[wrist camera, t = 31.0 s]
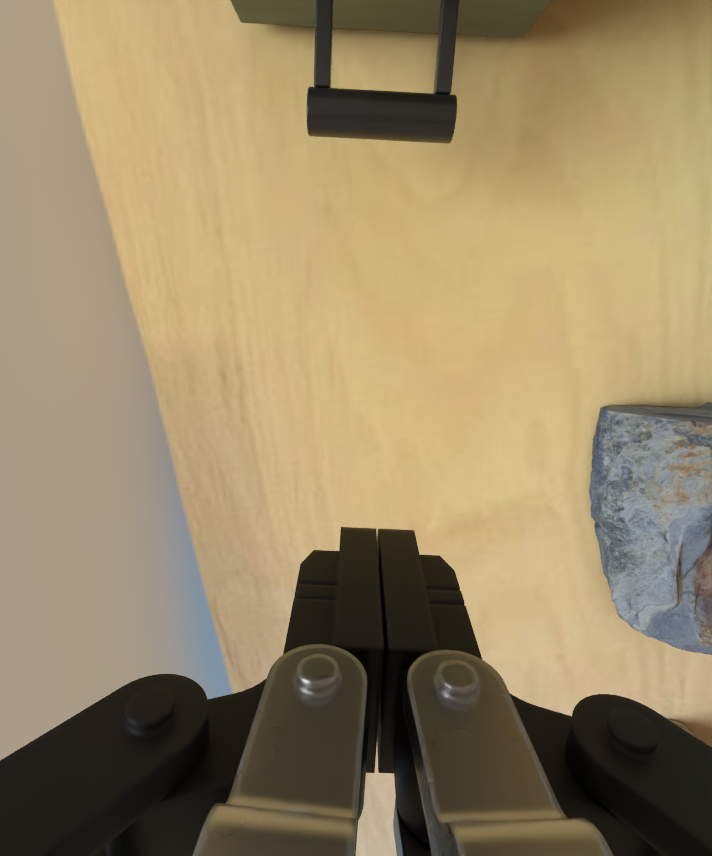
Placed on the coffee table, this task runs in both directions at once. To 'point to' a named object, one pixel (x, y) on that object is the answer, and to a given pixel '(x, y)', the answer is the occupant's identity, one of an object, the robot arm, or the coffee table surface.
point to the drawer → (391, 11)
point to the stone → (656, 519)
